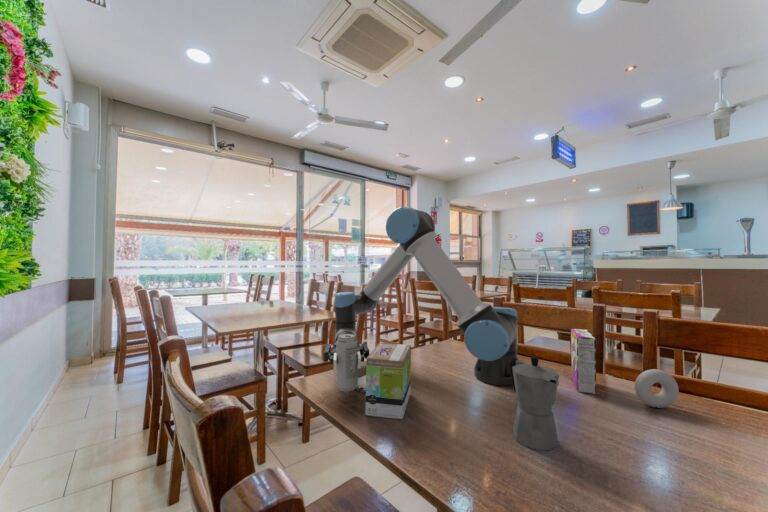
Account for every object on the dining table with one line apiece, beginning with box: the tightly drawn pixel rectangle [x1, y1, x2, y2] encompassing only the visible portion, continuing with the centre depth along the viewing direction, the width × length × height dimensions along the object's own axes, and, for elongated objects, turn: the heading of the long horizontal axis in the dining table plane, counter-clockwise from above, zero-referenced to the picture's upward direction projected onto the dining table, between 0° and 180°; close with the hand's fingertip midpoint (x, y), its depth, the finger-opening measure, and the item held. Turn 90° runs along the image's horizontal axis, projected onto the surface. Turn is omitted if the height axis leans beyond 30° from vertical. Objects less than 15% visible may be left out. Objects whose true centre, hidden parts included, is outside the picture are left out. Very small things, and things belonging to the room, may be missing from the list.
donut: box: [634, 368, 680, 409], centre depth 85 cm, size 10×4×10 cm, turn 83°
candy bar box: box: [570, 328, 597, 395], centre depth 99 cm, size 11×5×16 cm, turn 158°
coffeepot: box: [509, 356, 560, 451], centre depth 72 cm, size 15×9×18 cm, turn 13°
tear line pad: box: [355, 374, 366, 394], centre depth 101 cm, size 10×12×1 cm
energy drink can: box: [336, 334, 359, 392], centre depth 93 cm, size 6×6×15 cm
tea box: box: [365, 342, 412, 420], centre depth 87 cm, size 15×10×15 cm, turn 168°
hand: (347, 364), depth 88 cm, fingers closed on energy drink can, 6 cm apart
